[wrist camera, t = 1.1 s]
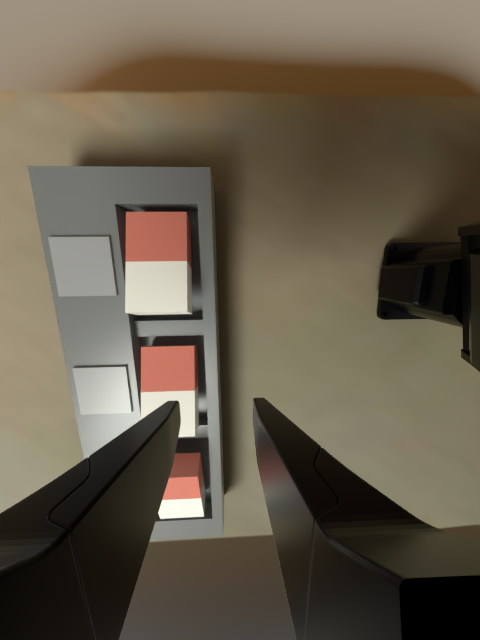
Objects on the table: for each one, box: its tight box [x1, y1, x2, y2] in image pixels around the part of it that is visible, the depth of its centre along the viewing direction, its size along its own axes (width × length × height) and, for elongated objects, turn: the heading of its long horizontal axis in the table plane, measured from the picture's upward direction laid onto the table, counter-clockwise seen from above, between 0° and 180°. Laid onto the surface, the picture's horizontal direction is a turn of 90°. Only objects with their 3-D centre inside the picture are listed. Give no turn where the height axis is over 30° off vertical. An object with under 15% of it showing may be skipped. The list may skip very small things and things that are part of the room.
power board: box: [28, 166, 224, 540], centre depth 19 cm, size 11×30×4 cm, turn 1°
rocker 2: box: [141, 345, 199, 437], centre depth 17 cm, size 4×6×2 cm, turn 0°
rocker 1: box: [125, 212, 192, 315], centre depth 15 cm, size 4×6×2 cm, turn 1°
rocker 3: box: [158, 453, 206, 519], centre depth 19 cm, size 4×6×2 cm, turn 1°
